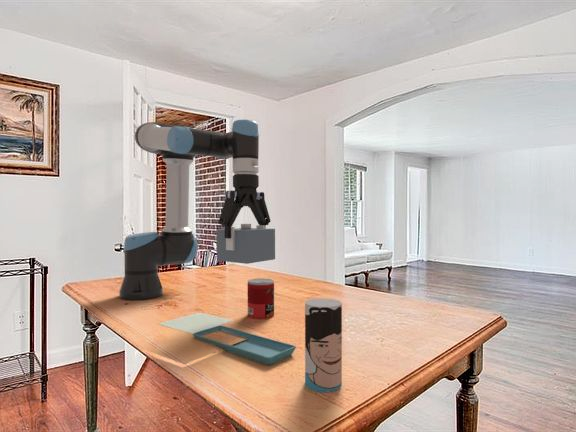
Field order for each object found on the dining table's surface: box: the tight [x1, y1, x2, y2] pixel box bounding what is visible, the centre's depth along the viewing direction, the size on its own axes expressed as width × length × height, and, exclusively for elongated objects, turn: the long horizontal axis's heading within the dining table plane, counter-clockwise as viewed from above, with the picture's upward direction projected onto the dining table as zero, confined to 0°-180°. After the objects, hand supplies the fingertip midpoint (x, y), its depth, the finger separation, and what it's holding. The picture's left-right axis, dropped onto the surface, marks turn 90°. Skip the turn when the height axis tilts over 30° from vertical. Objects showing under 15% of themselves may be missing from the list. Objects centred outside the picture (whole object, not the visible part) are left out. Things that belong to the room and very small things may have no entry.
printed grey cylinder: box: [304, 297, 343, 393], centre depth 72 cm, size 7×7×15 cm
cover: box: [216, 223, 276, 265], centre depth 114 cm, size 12×12×10 cm
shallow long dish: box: [192, 325, 297, 366], centre depth 91 cm, size 26×9×2 cm, turn 50°
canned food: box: [247, 277, 275, 320], centre depth 116 cm, size 8×8×11 cm
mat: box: [157, 311, 236, 335], centre depth 109 cm, size 15×15×1 cm
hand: (246, 248), depth 114 cm, fingers closed on cover, 12 cm apart
